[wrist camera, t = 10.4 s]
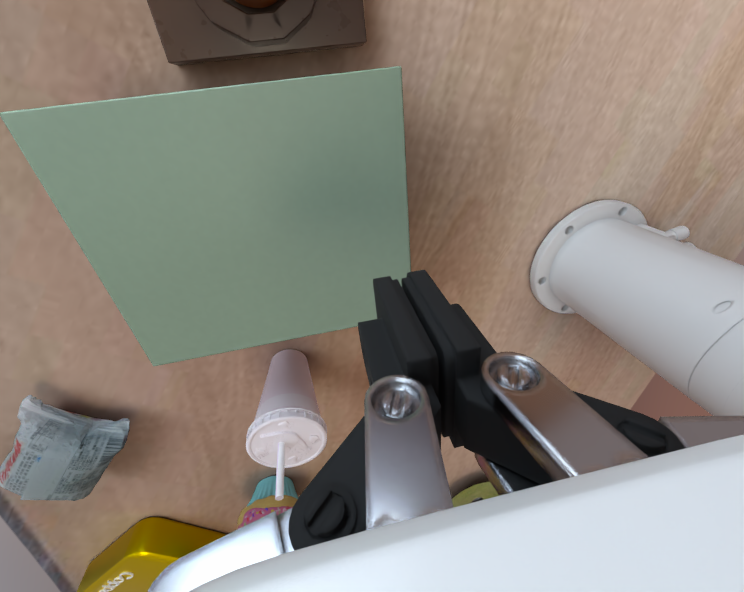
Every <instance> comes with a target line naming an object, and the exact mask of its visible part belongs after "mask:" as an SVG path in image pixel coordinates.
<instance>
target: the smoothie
mask: <svg viewBox="0 0 744 592" xmlns="http://www.w3.org/2000/svg"><path fill="white" fill-rule="evenodd" d="M326 442H327V426H326V424H325V422H324V420H323V419H322V418H321V417H320V412H319V408H318V404H317V400H316V396H315V391H314V387H313V383H312V378H311V374H310V370H309V366H308V361H307V358H306V356H305V355H304V354H303V353H302V352H300V351H298V350H294V349H287V350H282V351H280V352H278V353H277V354H275V355H274V357H273V358H272V360H271V364H270V367H269V371H268V375H267V378H266V382H265V385H264V389H263V392H262V396H261V399H260V403H259V407H258V410H257V413H256V417H255V421H254V422H253V423H252V424H251V426H250V427H249V429H248V432H247V442H246V449H247V452H248V454H249V456H250V457H251V458H252V459H253V460H254V461H256V462H258V463H259V464H262V465H264V466H267V467H273V468H277V471H276V491H275V500H278V501H279V500H282V499H283V498H284V468H290V467H295V466H299V465H302V464H305V463H307V462H309V461H311V460H312V459H314V458H315V457H317V456H318V455H319V454H320V453H321V452H322V451H323V449H324V448H325V445H326Z"/></svg>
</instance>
